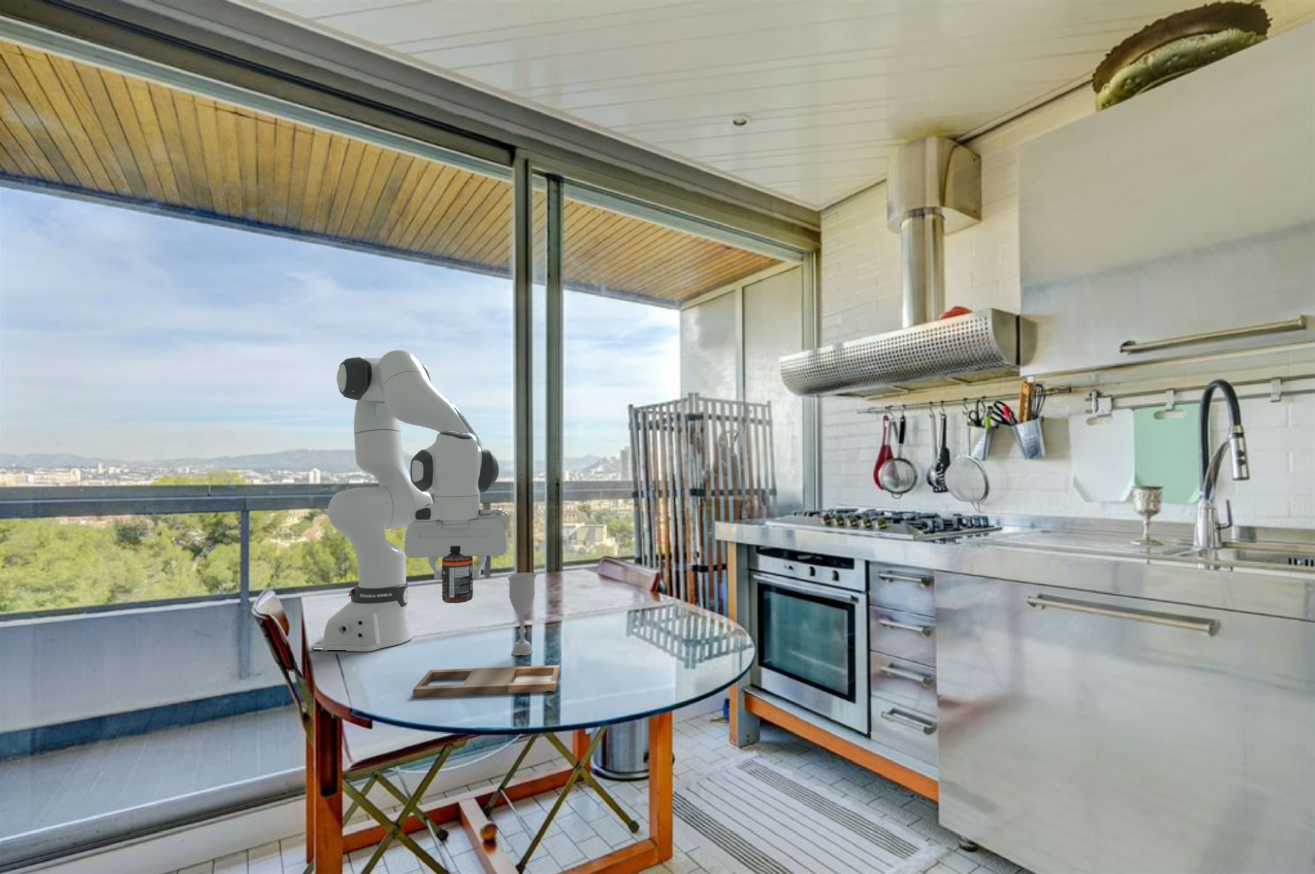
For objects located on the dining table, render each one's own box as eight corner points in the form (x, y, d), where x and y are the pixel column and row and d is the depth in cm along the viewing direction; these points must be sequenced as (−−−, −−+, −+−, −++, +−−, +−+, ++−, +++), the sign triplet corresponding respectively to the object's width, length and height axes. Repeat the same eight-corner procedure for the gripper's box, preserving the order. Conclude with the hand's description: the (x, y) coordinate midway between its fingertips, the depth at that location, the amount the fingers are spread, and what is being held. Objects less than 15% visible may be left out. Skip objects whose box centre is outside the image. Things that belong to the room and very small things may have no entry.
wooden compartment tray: (412, 697, 118) (412, 689, 118) (429, 677, 129) (429, 670, 129) (555, 691, 120) (555, 683, 120) (559, 672, 131) (559, 665, 131)
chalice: (529, 657, 141) (529, 578, 141) (501, 656, 142) (501, 577, 143) (541, 648, 148) (541, 572, 148) (515, 647, 149) (515, 572, 150)
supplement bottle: (440, 599, 126) (441, 543, 126) (471, 596, 128) (471, 541, 129) (443, 605, 120) (443, 546, 121) (474, 602, 123) (474, 545, 123)
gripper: (512, 507, 129) (512, 574, 128) (411, 510, 127) (411, 577, 127) (506, 510, 123) (507, 580, 122) (401, 512, 121) (401, 583, 120)
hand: (457, 578), depth 124 cm, fingers closed on supplement bottle, 6 cm apart
